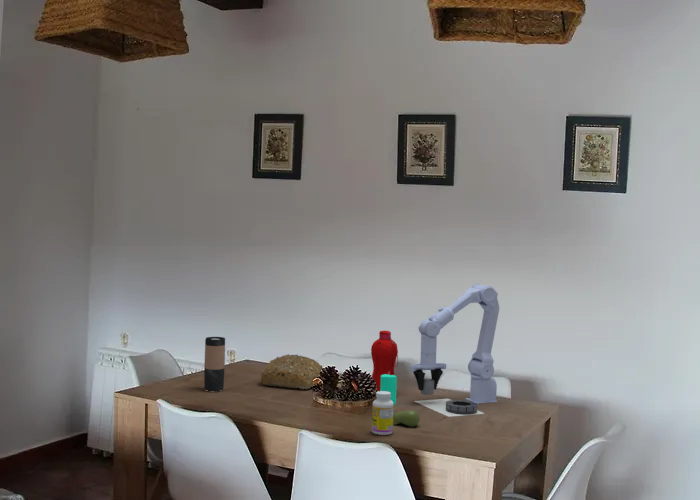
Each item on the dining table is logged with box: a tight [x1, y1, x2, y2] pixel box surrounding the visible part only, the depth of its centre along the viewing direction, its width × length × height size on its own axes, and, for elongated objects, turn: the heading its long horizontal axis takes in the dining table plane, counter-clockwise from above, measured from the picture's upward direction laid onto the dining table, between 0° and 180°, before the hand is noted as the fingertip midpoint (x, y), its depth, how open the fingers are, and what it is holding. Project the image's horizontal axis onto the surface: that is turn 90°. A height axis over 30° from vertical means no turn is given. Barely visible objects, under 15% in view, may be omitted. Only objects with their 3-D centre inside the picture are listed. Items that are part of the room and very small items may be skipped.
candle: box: [380, 374, 398, 405], centre depth 289 cm, size 6×6×12 cm
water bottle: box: [370, 330, 399, 394], centre depth 302 cm, size 9×11×25 cm
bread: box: [259, 353, 324, 390], centre depth 318 cm, size 24×21×12 cm
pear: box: [393, 409, 420, 428], centre depth 261 cm, size 6×5×10 cm
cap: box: [419, 377, 435, 396], centre depth 292 cm, size 5×5×5 cm
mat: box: [414, 398, 486, 418], centre depth 287 cm, size 15×24×1 cm, turn 25°
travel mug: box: [203, 336, 226, 391], centre depth 303 cm, size 8×8×20 cm
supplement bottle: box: [371, 391, 395, 436], centre depth 250 cm, size 7×7×13 cm
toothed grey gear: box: [446, 399, 478, 416], centre depth 282 cm, size 11×11×3 cm
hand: (427, 389), depth 292 cm, fingers closed on cap, 5 cm apart
